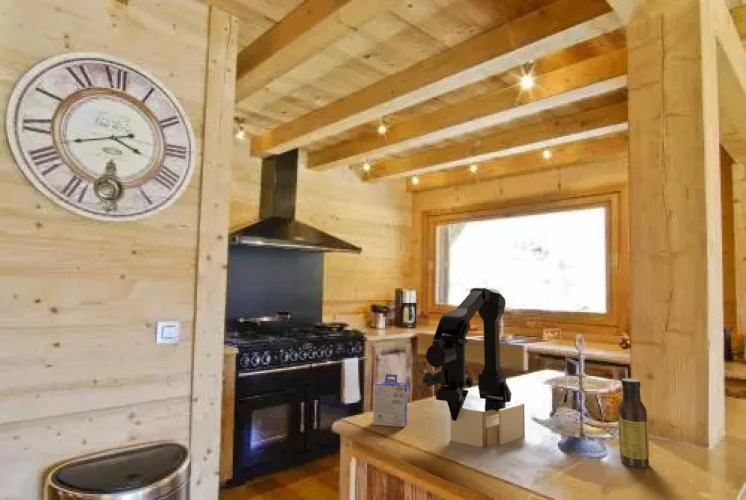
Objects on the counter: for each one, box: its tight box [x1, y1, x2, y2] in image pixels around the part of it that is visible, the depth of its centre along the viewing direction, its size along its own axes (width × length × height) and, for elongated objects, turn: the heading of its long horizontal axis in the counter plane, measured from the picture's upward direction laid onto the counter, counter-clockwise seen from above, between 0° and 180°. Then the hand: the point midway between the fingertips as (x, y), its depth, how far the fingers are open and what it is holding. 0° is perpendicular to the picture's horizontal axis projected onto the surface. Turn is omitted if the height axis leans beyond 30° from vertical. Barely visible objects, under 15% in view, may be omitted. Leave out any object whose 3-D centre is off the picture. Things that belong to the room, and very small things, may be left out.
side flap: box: [498, 403, 526, 445], centre depth 125 cm, size 11×1×9 cm, turn 128°
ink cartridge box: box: [372, 373, 408, 428], centre depth 139 cm, size 10×6×14 cm, turn 78°
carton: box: [484, 410, 499, 448], centre depth 128 cm, size 15×10×5 cm, turn 128°
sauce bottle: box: [617, 377, 650, 469], centre depth 110 cm, size 6×6×20 cm
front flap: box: [449, 407, 487, 449], centre depth 122 cm, size 1×10×9 cm, turn 57°
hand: (455, 419), depth 123 cm, fingers closed
